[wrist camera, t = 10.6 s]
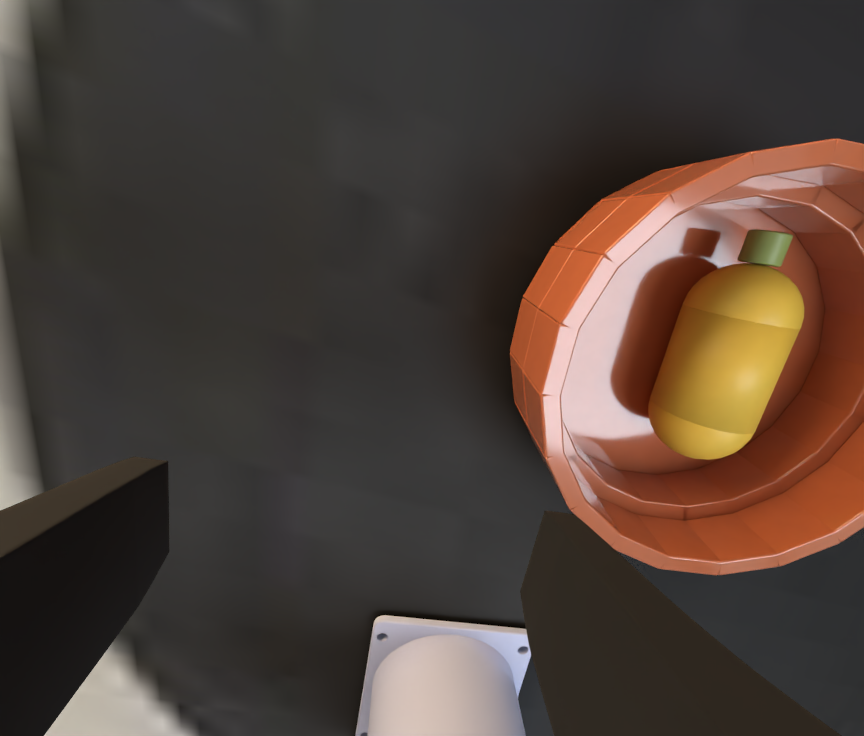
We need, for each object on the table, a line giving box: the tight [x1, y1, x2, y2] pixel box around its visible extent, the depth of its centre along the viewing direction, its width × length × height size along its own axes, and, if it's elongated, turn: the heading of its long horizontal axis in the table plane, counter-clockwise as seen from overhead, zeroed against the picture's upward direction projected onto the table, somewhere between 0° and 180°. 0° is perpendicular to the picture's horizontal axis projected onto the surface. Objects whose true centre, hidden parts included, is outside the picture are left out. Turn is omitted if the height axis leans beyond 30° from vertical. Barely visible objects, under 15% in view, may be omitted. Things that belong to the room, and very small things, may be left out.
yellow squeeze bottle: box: [648, 229, 804, 460], centre depth 15 cm, size 8×3×3 cm, turn 170°
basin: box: [510, 139, 864, 575], centre depth 15 cm, size 13×13×5 cm
